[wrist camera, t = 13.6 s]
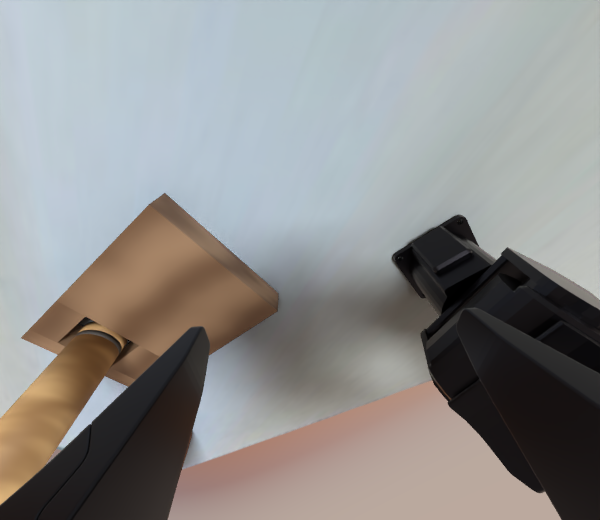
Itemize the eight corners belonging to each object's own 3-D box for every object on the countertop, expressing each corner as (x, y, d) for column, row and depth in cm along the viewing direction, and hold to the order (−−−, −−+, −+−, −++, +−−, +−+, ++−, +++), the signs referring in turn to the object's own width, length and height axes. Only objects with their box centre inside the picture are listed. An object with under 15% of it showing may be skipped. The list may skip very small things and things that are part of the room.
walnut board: (278, 293, 25) (277, 311, 22) (156, 375, 31) (147, 395, 29) (164, 193, 19) (149, 204, 17) (43, 318, 25) (21, 338, 23)
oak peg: (142, 325, 26) (23, 509, 14) (121, 342, 27) (-5, 524, 16) (105, 304, 24) (-65, 493, 13) (85, 323, 26) (-89, 512, 14)
